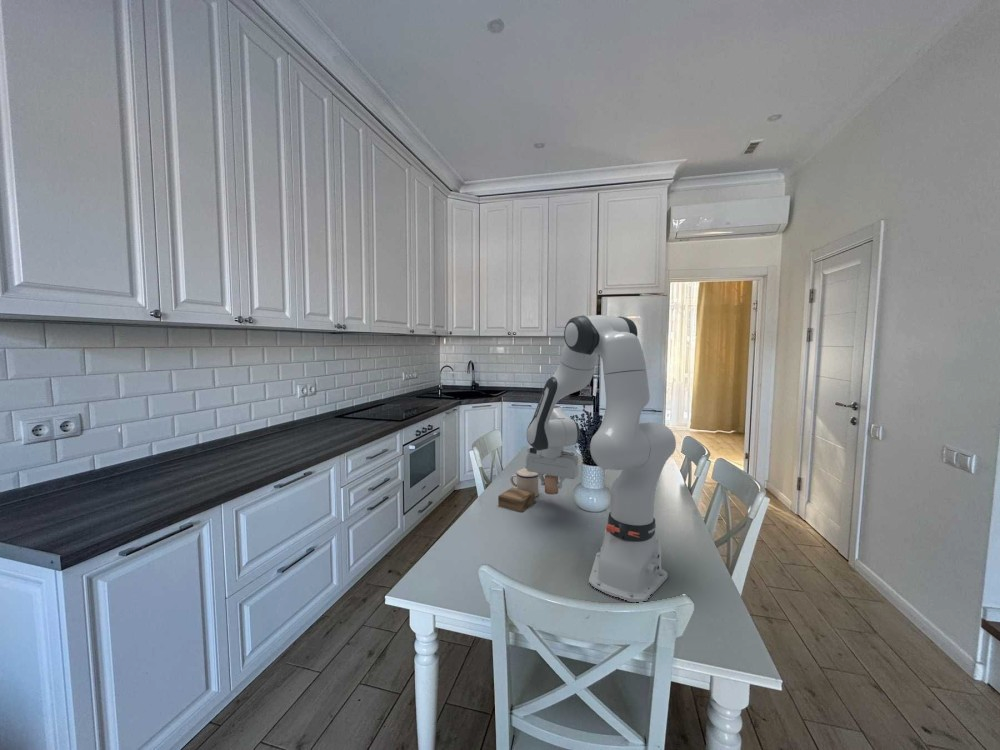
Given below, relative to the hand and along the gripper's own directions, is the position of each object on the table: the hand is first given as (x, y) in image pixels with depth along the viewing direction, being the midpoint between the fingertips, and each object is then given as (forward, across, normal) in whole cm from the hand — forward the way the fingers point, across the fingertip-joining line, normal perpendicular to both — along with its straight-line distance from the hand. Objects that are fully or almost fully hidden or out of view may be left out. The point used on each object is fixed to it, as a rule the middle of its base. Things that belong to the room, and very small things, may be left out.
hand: (551, 486), depth 146 cm
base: (+7, +12, +6) cm, 15 cm away
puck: (+2, 0, 0) cm, 2 cm away
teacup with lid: (+7, +15, -5) cm, 17 cm away
